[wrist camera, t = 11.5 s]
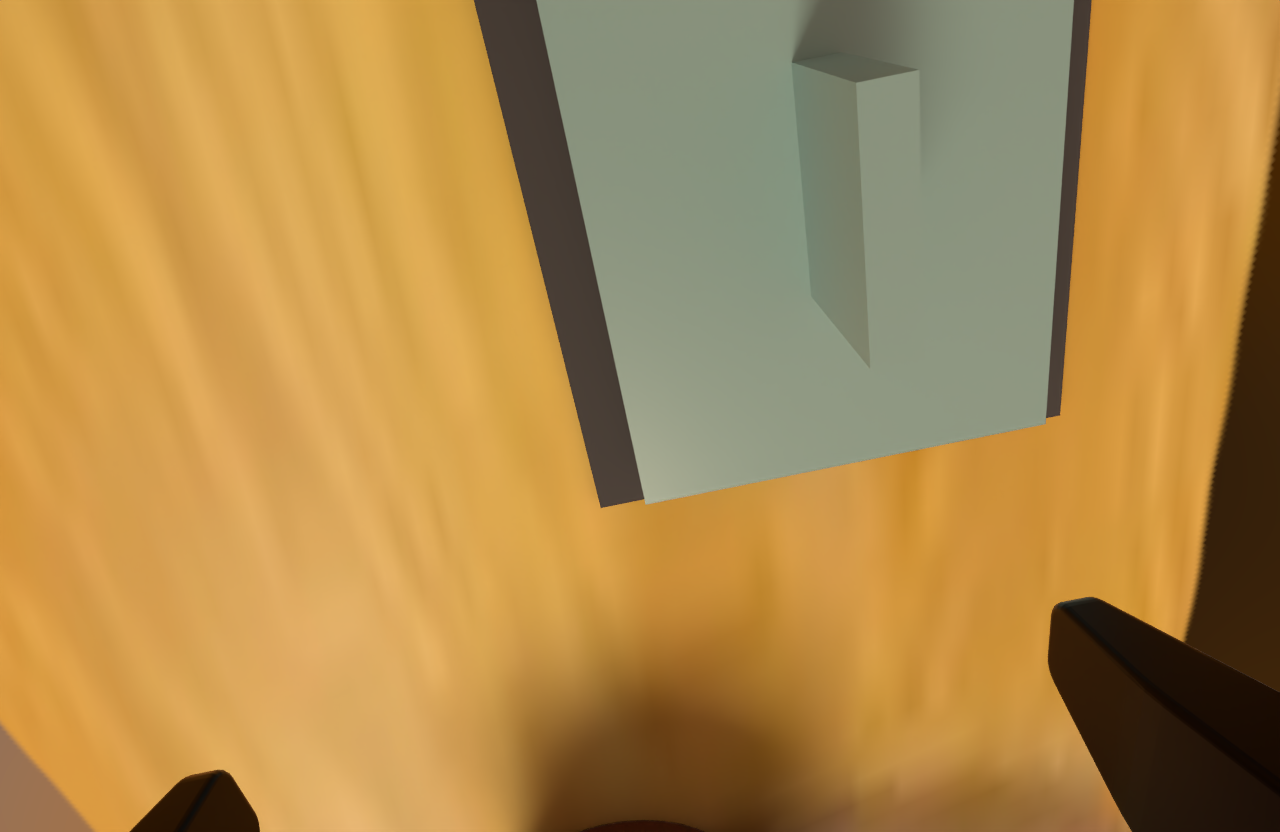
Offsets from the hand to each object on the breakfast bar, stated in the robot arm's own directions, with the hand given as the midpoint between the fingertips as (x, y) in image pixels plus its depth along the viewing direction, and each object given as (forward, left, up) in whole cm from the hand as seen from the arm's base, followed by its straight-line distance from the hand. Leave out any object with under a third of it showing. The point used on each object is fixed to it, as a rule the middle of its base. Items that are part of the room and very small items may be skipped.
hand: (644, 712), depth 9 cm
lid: (+3, +5, -13) cm, 14 cm away
